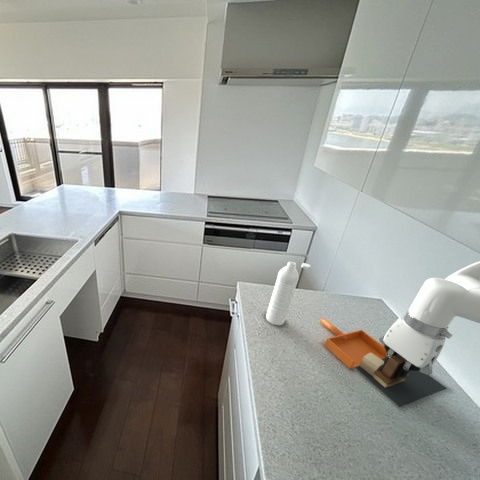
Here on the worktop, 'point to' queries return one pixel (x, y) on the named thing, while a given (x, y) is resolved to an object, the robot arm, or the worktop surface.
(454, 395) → the worktop surface
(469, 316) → the robot arm
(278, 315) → the water bottle
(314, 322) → the worktop surface
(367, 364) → the clay clod
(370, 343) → the dustpan
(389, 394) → the mat
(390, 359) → the brush
